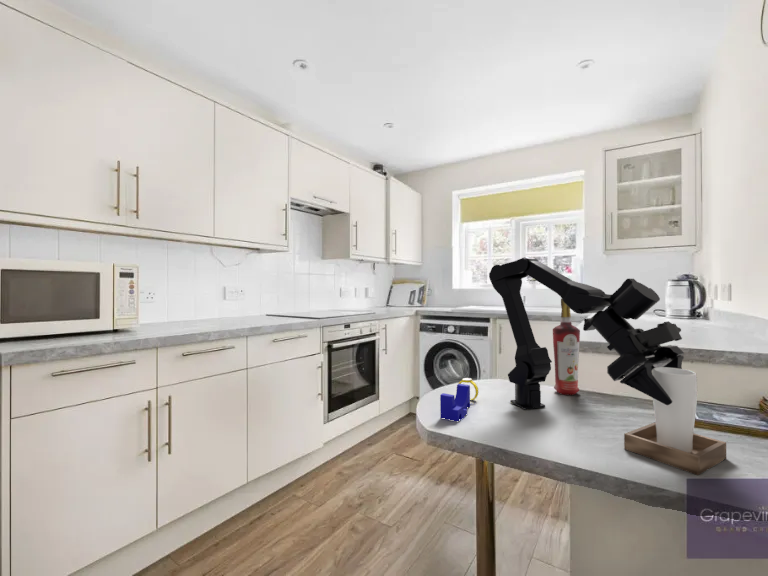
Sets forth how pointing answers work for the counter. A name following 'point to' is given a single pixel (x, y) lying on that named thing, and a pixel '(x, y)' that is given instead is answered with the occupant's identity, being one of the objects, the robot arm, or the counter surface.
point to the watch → (471, 383)
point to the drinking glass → (676, 407)
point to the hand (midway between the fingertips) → (682, 399)
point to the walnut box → (676, 450)
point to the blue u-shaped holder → (455, 403)
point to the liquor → (566, 354)
